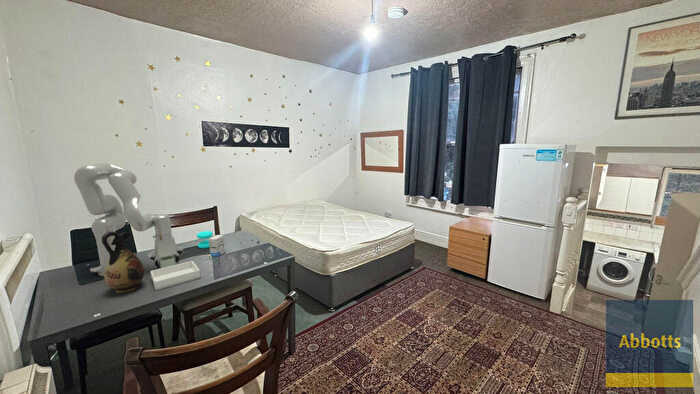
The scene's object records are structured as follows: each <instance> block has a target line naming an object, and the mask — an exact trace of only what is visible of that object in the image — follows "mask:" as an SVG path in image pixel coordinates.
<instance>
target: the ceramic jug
mask: <svg viewBox="0 0 700 394" xmlns="http://www.w3.org/2000/svg"><path fill="white" fill-rule="evenodd" d="M110 236H115V238H114V239H113V241H112V243H111V245H115V250H114V251H113V250H112V249H111V247H110V246H109V244H108V242H107V238H108V237H110ZM132 237H133V234H132V233H130V232H126V231H124V232H123V231H121V232H120V233H118V232H116V231H115V232H107V233H105V234H104V235H103V236H102V244H103V245H104V246H105V248H106V250H107V252H109V254H110V259H109V260H108V262H107V264H106V267H105V271H104V276H103V278H104V282H105V284H106V286H108V287H109V288H111V289H112V290H114V291H115V293H117V294H119V293H127V292H132V291H134V290H136V289H138V288H139V287H140V284H141V281H142V280H143V278H144V276H145V266H144V265H143V263H142V261H141V259H140V258H139V257H138V256H137V255H136V254H135V253H133V252H132V251H131V250H129V249H128V248H127V247H126V246H125V244H124V243H125V242H126V241H128V240H129V239H131V238H132Z"/></svg>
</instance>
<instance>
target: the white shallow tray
mask: <svg viewBox="0 0 700 394" xmlns="http://www.w3.org/2000/svg"><path fill="white" fill-rule="evenodd" d="M149 273H150V279H151V281H152V282H151V283H152V285H153V287H154V291H159V290H163V289H166V288H169V287H173V286H177V285H182V284H185V283H188V282H192V281H195V280H199V279H201V270H200V269H199V267H198V266H197V265H196V263H195V262H194V261H193V260H190V261H185V262H182V263H177V264H175V265H173V266H169V267H165V268H161V267H160V268H158V269H154V270H153V269H152V270H150V272H149Z"/></svg>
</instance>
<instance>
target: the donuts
mask: <svg viewBox="0 0 700 394" xmlns="http://www.w3.org/2000/svg"><path fill="white" fill-rule="evenodd" d="M213 235H214V232H212V231H210V230H206V231H205V230H204V231H200V232H198V233H196V238H197V239H200V240H202V241H199V242H198V243H197V247H198V248H199V249H208V248H209V249H210V247H209V238H211V237H213Z"/></svg>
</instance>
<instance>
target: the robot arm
mask: <svg viewBox="0 0 700 394" xmlns="http://www.w3.org/2000/svg"><path fill="white" fill-rule="evenodd" d="M73 179H74V183H75V186H76V187H77V189H78V190H79V193H80V195H81V197H82V199H83V200H82V201H83V202H84V205H85V207H86V209H87V211H88V212H89V213H90V214H91V215H93V216H100V217H98V218H97V219H94V221H93V222H92V224H91V231H92V233H93V235H94V237H95V238H94V239H95V240H96V241H95V242H96V246H97V252H98V257H99V258H98V259H99V262H100V264H99V266H97V267H91V268H89V270H90V273H98V275H99V276H100V277H104V271H105V267H106V264H107V262H108V260H109V259H110V254H109V252H107V250H106V248H105V246H104V245H103V244H102V236H103V235H104V234H105V233H107V232H116V231H118V230H120V229H122V228H124V226H126V224H127V222H128V224H129V225H130V227H132V229H133V230H135V231H137V232H145V231H147V230H149V229H150V228H154V232H155V235H152V239H154V249H152V251H150V252H149V253H147V257H148V258H149V259H150V260H152V261H154V265H155V267H156V268H158V269H159V267H160V264H159V258H161V257H165V256H170V255H173V256H174V258H175V263H177V264H179V261H180V255H181V254H182V253H183V250H184V247H183V246H179V245H177V244H176V240H175V238H174V236H173V233H172V226H171V218H170V215H169V214H167V213H159V214H157V213H156V214H155V213H147V214H144V215H142V214H141V211H140V210H139V202H140V199H141V194H140V193H139V191H138V190H137V187H136V186H135V185H134V184H136V182H137V180H138V179H137V175H135V173H134V172H132V171H130V170H128V169H125V168H122V167H119V166H117V165H114V164H111V163H107V162H106V163H105V162H104V163H103V162H100V163H89V164H86V165H83V166H81V167H79V168H77V169H76V170H75V172H74V176H73ZM100 180H107V181H108V183H109V186H111V188H112V189H113V190H114V192H115V193H116V195H117V196H118V198H119V199H120V200H119V199H118V198H117V197H116V196H114V195H111V194H104V192H103V189H102V188H101V186H100V184H98V183H97V181H100ZM120 201H121V202H122V204H123V205H121V202H120ZM101 215H104V216H101ZM114 238H115V236H110V237H108V238H107V242H108V244H109V246H110V247H111V249H112V250H113V251H114V250H115V245H111V243H112V241H113V239H114ZM178 249H179V250H178ZM154 254H155V255H154ZM152 255H154V256H152Z"/></svg>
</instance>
